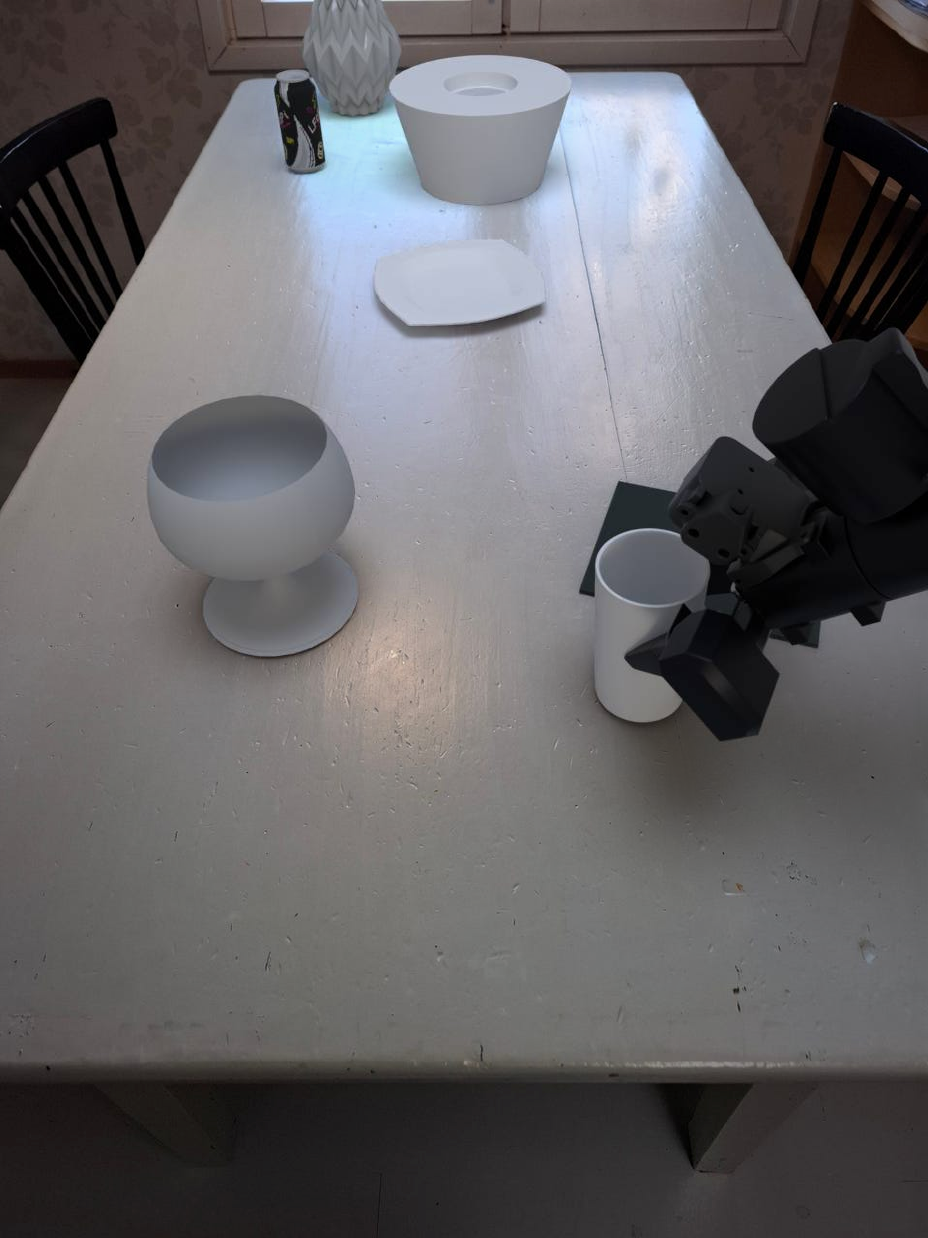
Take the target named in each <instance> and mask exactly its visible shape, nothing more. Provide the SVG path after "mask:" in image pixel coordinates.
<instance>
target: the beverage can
mask: <svg viewBox="0 0 928 1238" xmlns="http://www.w3.org/2000/svg"><path fill="white" fill-rule="evenodd" d="M310 76H311V75H310V72H309V71H308V70H304V69H288V70H287V69H286V70H283V71H281V72H278V73H277V74H276V76H275V78H276V81H275V85H274V87H273V93H274V99H275V105H276V112H277V117H278V124H279V130H280V135H281V136H280V137H281V141H282V149H283V153H284V159H285V164H286V166H287V167H288V168H289V169H291V170H292V171H294V172H296V173H300V174H309V173H313V172H317V171H319V170H320V169H321V168H322V167H323V166H324V165H325V164H326V154H325V153H326V152H325V147H324V140H323V131H322V125H321V117H320V110H319V103H318V101H319V100H318V96H317V95H318V94H317V88H316V87H317V86H316V83H315V82H314V81H313V80H312V79H311V77H310Z"/></svg>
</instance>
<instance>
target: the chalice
mask: <svg viewBox="0 0 928 1238" xmlns="http://www.w3.org/2000/svg"><path fill="white" fill-rule="evenodd" d="M146 470H147V472H146V497H147V506H148V511H149V516H150V520H151V523H152V525H153V527H154V530H155V532H156V533H155V534H157V537H158V539H159V541H160V543H161V544H162V545H163V546H164V548H165V549H166V550H167V551H168V552H169V553H170V554H171V555H172V556H173V557H174V558H175V559H176V560H178V561H179V562H181V563H182V564H183V565H185V567H188V568H189V569H191V570H193V571H196V572H199V573H201V574H203V575H206V576H209V577H212V578H213V580H211V581H212V582H211V583H210V585H209V586H208V588H207V589H206V592H205V595H204V598H203V602H202V615H203V619H204V623H205V626H206V628H207V629H208V630H209V632H210V634H211V635H212V636H213V637H214V638H215V639H216V640H217V641H218V642H219V643H221V644H222V645H223V646H225V647H226V648H229V649H231V650H233V651H236V652H238V653H241V654H246V655H250V656H255V657H280V656H287V655H294V654H296V653H301V652H302V651H306V650H309V649H311V648H313V647H315V646H317V645H319V644H321V643H323V642H324V641H327V640H328V639H330V638H331V637H332V636H333V635H335V634H336V633H337V632H338V631H340V629H342V628H343V626H344V625H345V624H346V623H347V622H348V620H349V619H350V618H351V617H352V614H353V612H354V610H355V608H356V606H357V603H358V598H359V593H360V591H359V584H358V578H357V576H356V574H355V572H354V570H353V568H352V567H351V565H349V563H348V562H347V561H346V560H345V559H344V558H343V557H341V556H340V555H338V554H336V553H335V552H334V551H332V550H330V548H331V547H333V545H334V544H335V543H336V542H337V540H338V539H339V538H340V537H341V536H342V535H343V534H344V532H345V530H346V529H347V525H348V524H349V522H350V519H351V517H352V514H353V510H354V507H355V500H356V499H355V498H356V488H355V480H354V476H353V472H352V469H351V466H350V462H349V459H348V457H347V454H346V452H345V450H344V448H343V446H342V444H341V442H340V440H339V439H338V438H337V436H336V434H335V433H334V432H333V430H332V428H330V426H329V424H327V422H325V420H324V419H323V418H322V417H321V416H320V415H319V414H317V413H316V412H315V411H313V410H312V409H311V408H310V407H308V406H307V405H304V404H302V403H300V402H297V401H295V400H293V399H289V398H285V397H282V396H281V397H280V396H275V395H262V394H254V395H239V396H233V397H227V398H223V399H222V398H221V399H218V400H215V401H212V402H209V403H205V404H204V405H201V406H199V407H197V408H195V409H192V410H191V411H188V412H186V413H185V414H184V415H182V416H180V417H179V418H177V419H176V420H175V421H173V422H172V423H171V424H170V425H169V426H167V428H166V429H164V431H162V434H161V435H160V436H159V437H158V439H157V440H156V442H155V443H154V446H153V449H152V452H151V454H150V458H149V461H148V465H147V469H146Z"/></svg>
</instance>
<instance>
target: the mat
mask: <svg viewBox="0 0 928 1238" xmlns="http://www.w3.org/2000/svg"><path fill="white" fill-rule="evenodd" d="M676 493H677V491H672V490H668V489H662V488H658V487H651V486H647V485H642V484H636V483H632V482H627V481H621V480H618V481H617V483H616V487H615V489H614V491H613V495H612V498H611V501H610V504H609V506H608V509H607V512H606V514H605V517H604V520H603V523H602V525H601V529H600V531H599V533H598V536H597V540H596V542H595V545H594V548H593V551H592V553H591V556H590V559H589V561H588V565H587V568H586V570H585V573H584V575H583V578H582V581H581V584H580V587H579V589H578V593H579V594H582V595H587V596H591V597H595V571H596V570H595V562H596V557H597V555H598V553H599V551H600V549H601V548H602V546H603V545H604V544H605V543H606V542H607V541H609V540H610V539H612V538H613V537H615V536H617V535H619V534H622V533H624V532H627V531H631V530H636V529H647V528H651V529H662V530H667V531H671V532H675V533H677V534H680V532H681V530H682V529H680V528H679V527H677V526H676V525H675V524H674V523H673V522H672V521H671V519H670V517H669V515H668V506H669V504H670V503H671V501H672V500H673V498H674V497H675V495H676ZM736 602H737V599H736V597H735V596H734V595H733V594H732V593H727V594H718V595H709V596H706V597H705V602H704V605H705V607H706V608H708V609H711V610H714V611H720V612H722V613H724V614H727V615H731V613H732V611H733V609H734V607H735V604H736ZM821 624H822V621H819V622H816V623H815V624H814V627H813V630H812V633H811V635H810V638H809V641H808V642H804V643H800V644H799V645H802V646H806V647H811V648H816V649H817V648H818V647H819V644H820V636H821V633H820V632H821ZM769 638H773V639H777V640H782V641H786V642H789V641H788V640H787V639H786V637H785V636H784V635H783V634H782V632H781V631H780V630H779V629H776V630H772V631H771V634H770V636H769Z"/></svg>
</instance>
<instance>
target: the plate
mask: <svg viewBox="0 0 928 1238" xmlns="http://www.w3.org/2000/svg"><path fill="white" fill-rule="evenodd" d="M373 288H374V291H375V294H376V296H377V297H378V299H379V300H380V302H381V303H382V304H383V305H384V306H385V308H386V309H388V311H390V313H392V314H393V315H395V317H397V318H398V319H399V320H400V321H401V322H403V323H404V324H406V325H407V326H408V327H430V326H431V327H432V326H456V325H457V326H458V325H467V324H477V323H483V322H488V321H492V320H496V319H497V320H498V319H500V318H504V317H508V316H511V315H514V314H518V313H521V312H523V311H526V310H529V309H532V308H535V307H537V306H540V305H542V304H545V303H546V301H547V293H546V292H547V291H546V283H545V279H544V276H543V272H542V271H541V269H540V267H539V266H538V265H537V264H536V262H535V261H533V259H532V258H530V257H529V256H528V255H527V254H526V253H525V252H523V251H521V250H520V249H519V248H517V247H516V246H514V245H512V244H510V243H509V242H507V241H506V240H504V239H502V238H496V239H495V238H490V239H489V238H484V239H459V240H447V241H438V242H433V243H432V242H431V243H427V244H423V245H419V246H414V247H411V248H406V249H403V250H400V251H397V252H394V253H390V254H387V255H383V256H382V257H379V258H376V261H375V265H374V272H373Z"/></svg>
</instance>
